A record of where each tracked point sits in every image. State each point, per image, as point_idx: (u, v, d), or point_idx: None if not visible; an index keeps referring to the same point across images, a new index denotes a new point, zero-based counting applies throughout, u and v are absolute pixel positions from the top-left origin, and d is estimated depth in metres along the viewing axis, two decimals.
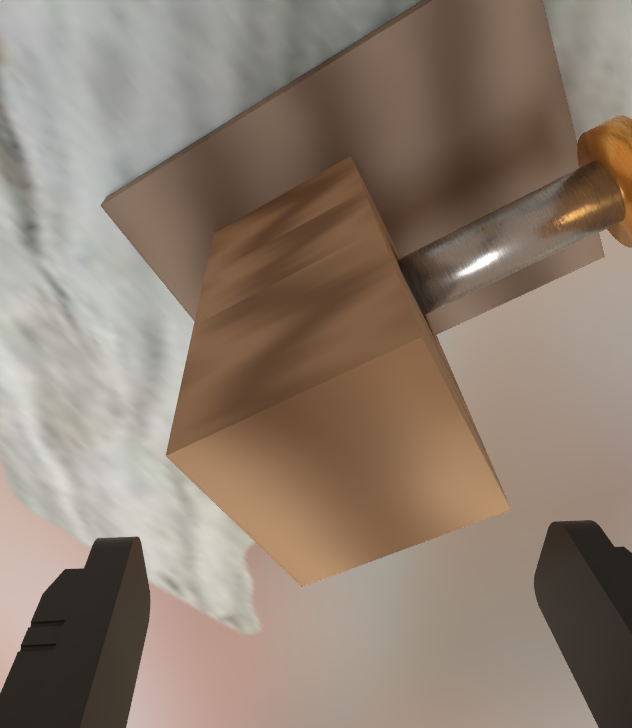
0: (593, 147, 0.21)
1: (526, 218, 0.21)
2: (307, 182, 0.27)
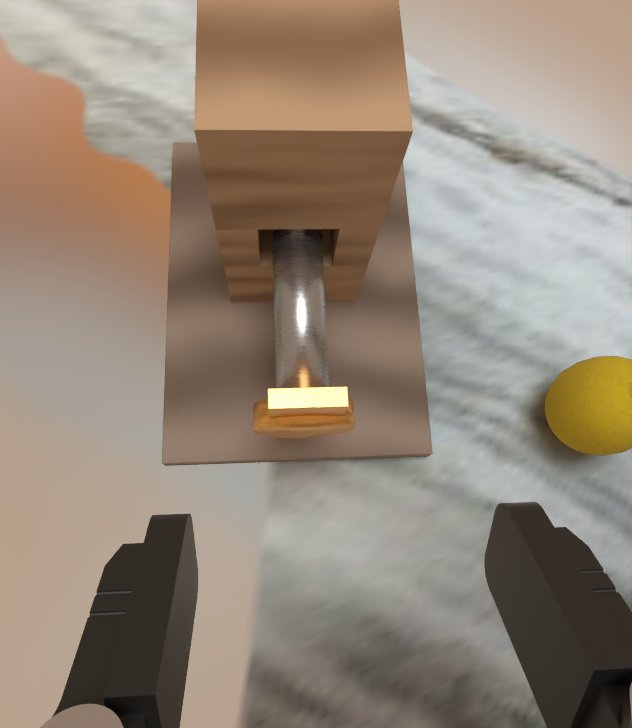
0: None
1: (322, 334, 0.27)
2: None
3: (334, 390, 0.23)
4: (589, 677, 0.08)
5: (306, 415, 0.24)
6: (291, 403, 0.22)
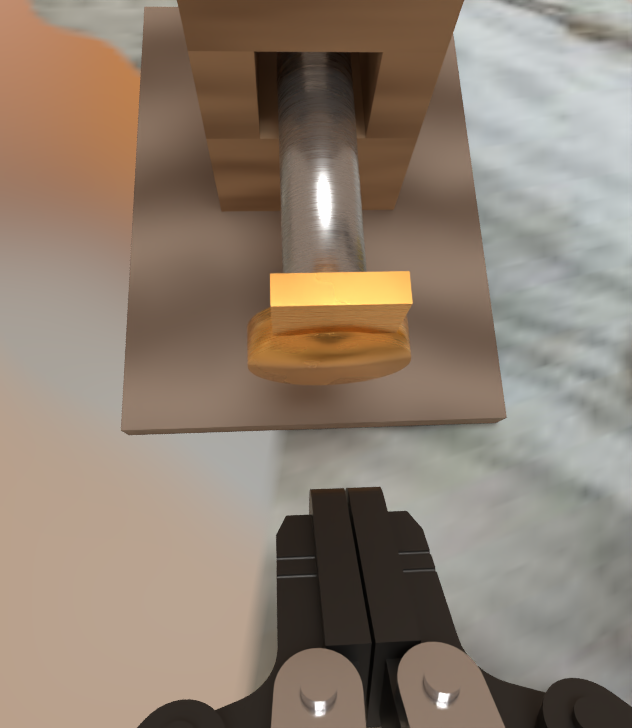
0: None
1: (356, 216, 0.17)
2: None
3: (387, 277, 0.13)
4: (376, 650, 0.08)
5: (335, 330, 0.14)
6: (312, 298, 0.12)
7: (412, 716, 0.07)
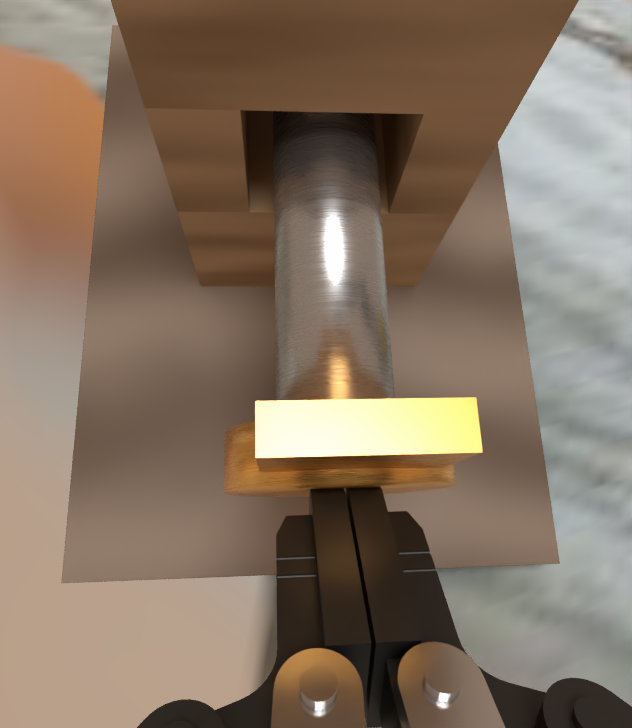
0: None
1: (379, 278, 0.12)
2: None
3: (442, 407, 0.08)
4: (376, 650, 0.08)
5: (354, 468, 0.09)
6: (323, 444, 0.08)
7: (412, 716, 0.07)
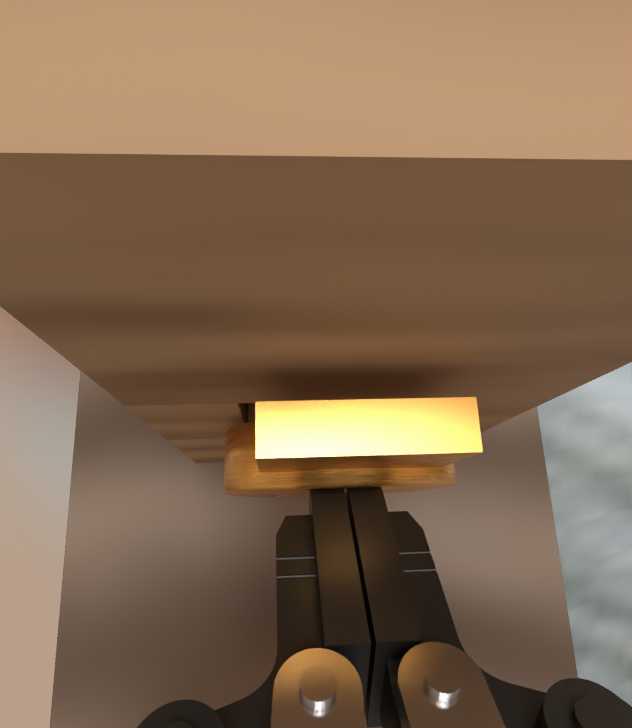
0: None
1: None
2: None
3: (442, 407, 0.08)
4: (376, 649, 0.08)
5: (354, 468, 0.09)
6: (323, 444, 0.08)
7: (413, 716, 0.07)
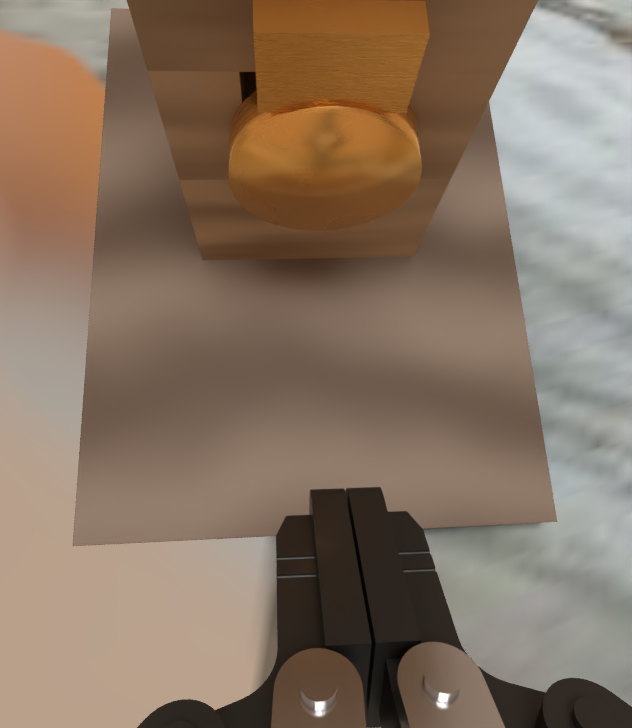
0: None
1: None
2: None
3: (398, 6, 0.10)
4: (376, 649, 0.08)
5: (333, 101, 0.12)
6: (305, 25, 0.10)
7: (412, 716, 0.07)
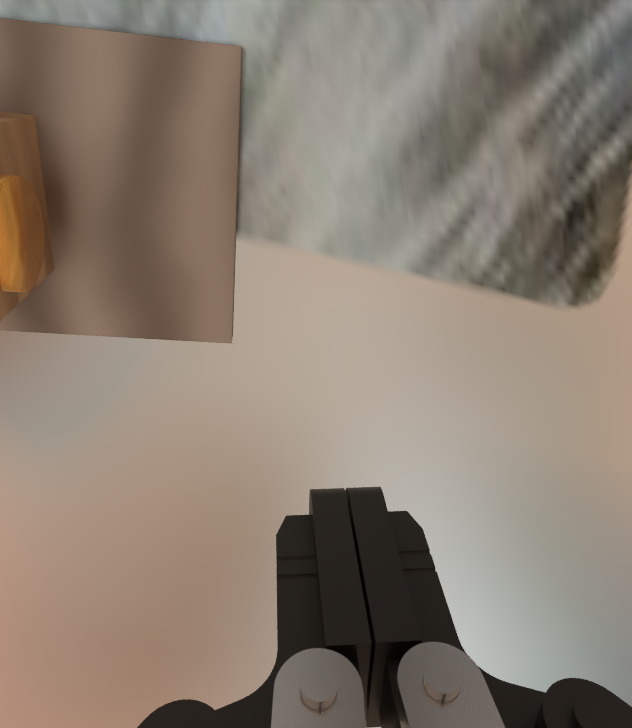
0: None
1: None
2: None
3: None
4: (376, 650, 0.08)
5: None
6: None
7: (412, 716, 0.07)
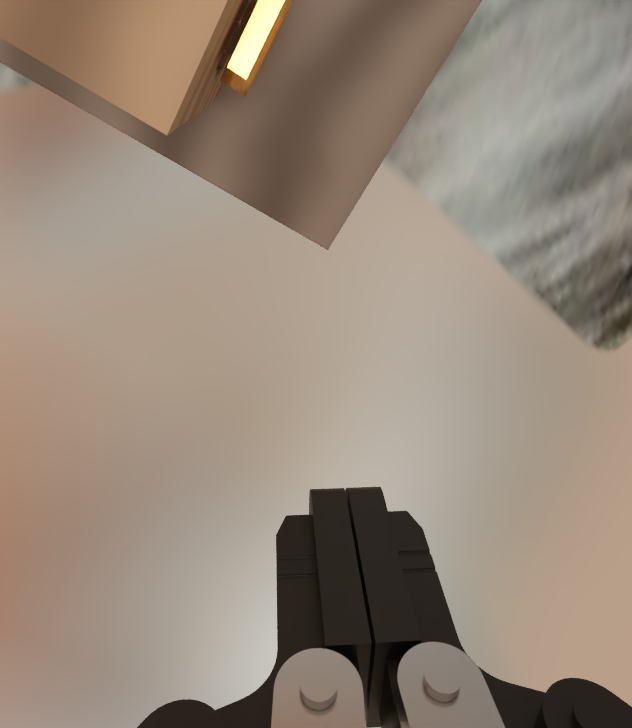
0: None
1: None
2: None
3: None
4: (376, 650, 0.08)
5: (267, 39, 0.22)
6: (254, 52, 0.20)
7: (412, 716, 0.07)
